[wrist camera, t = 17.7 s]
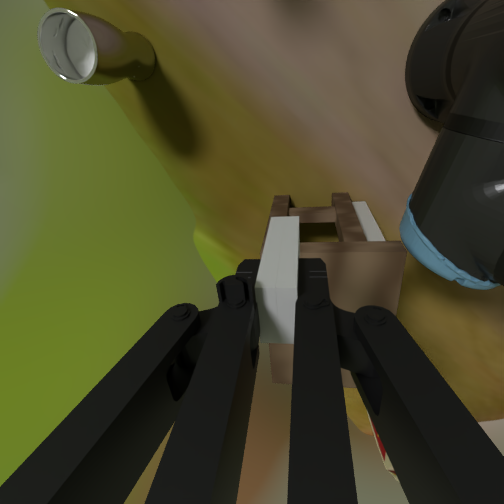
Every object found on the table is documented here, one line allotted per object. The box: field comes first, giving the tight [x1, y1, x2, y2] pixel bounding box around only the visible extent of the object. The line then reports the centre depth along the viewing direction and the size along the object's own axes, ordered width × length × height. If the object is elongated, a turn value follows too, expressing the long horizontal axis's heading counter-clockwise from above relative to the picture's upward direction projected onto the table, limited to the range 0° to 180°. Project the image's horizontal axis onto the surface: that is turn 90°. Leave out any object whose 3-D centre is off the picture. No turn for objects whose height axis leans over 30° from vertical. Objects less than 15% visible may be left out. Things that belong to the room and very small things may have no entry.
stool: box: [260, 192, 407, 388], centre depth 47 cm, size 16×22×20 cm
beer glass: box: [37, 8, 155, 85], centre depth 38 cm, size 7×7×15 cm
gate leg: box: [352, 201, 385, 241], centre depth 47 cm, size 2×20×16 cm, turn 6°
